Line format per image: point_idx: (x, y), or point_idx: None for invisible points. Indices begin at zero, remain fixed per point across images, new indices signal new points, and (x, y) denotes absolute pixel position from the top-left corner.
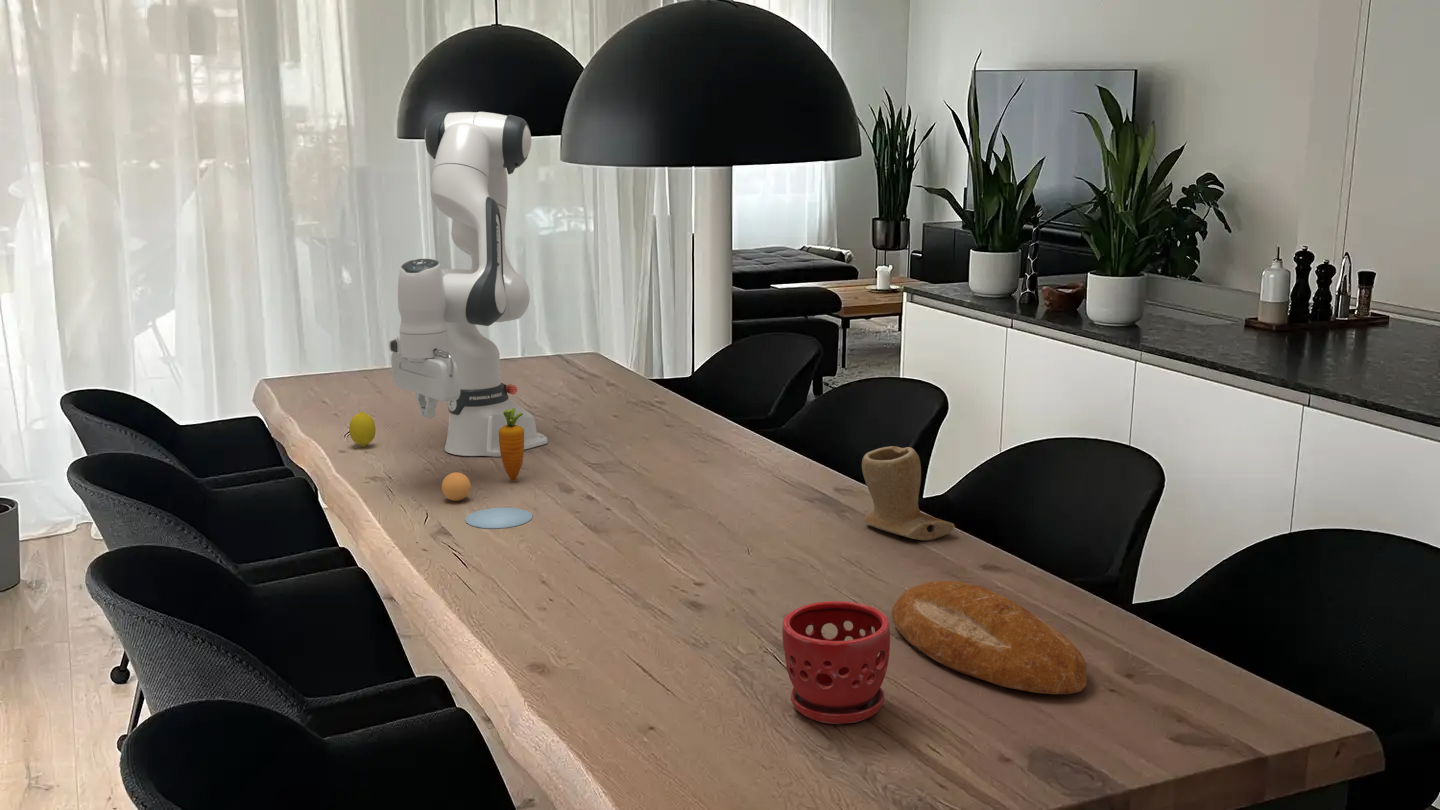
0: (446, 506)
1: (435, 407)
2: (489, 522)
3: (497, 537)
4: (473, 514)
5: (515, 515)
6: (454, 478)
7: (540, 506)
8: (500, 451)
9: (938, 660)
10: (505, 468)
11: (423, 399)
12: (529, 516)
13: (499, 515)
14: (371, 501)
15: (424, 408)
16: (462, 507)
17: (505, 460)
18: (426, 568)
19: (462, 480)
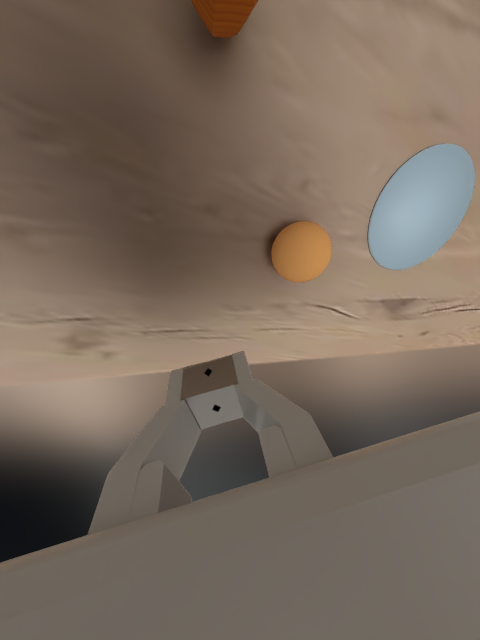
0: None
1: (263, 384)
2: (425, 239)
3: (470, 249)
4: (377, 249)
5: (438, 182)
6: (325, 266)
7: (436, 91)
8: (219, 1)
9: None
10: (222, 34)
11: (166, 465)
12: (463, 158)
13: (414, 210)
14: None
15: (224, 418)
16: None
17: (246, 19)
18: (461, 340)
19: (331, 248)
